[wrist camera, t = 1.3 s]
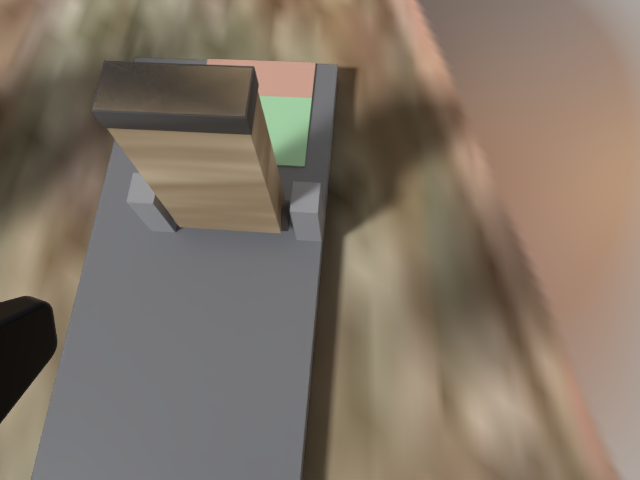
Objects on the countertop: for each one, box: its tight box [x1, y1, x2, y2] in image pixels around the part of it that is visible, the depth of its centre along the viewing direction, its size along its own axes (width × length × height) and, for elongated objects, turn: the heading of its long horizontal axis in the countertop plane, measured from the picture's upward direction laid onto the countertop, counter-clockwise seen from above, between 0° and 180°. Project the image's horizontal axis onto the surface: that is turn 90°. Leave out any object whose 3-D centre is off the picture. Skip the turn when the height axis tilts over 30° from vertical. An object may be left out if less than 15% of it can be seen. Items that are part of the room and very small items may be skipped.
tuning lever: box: [91, 61, 290, 233], centre depth 19 cm, size 2×4×9 cm, turn 85°
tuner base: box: [31, 58, 338, 480], centre depth 22 cm, size 20×10×4 cm, turn 175°
